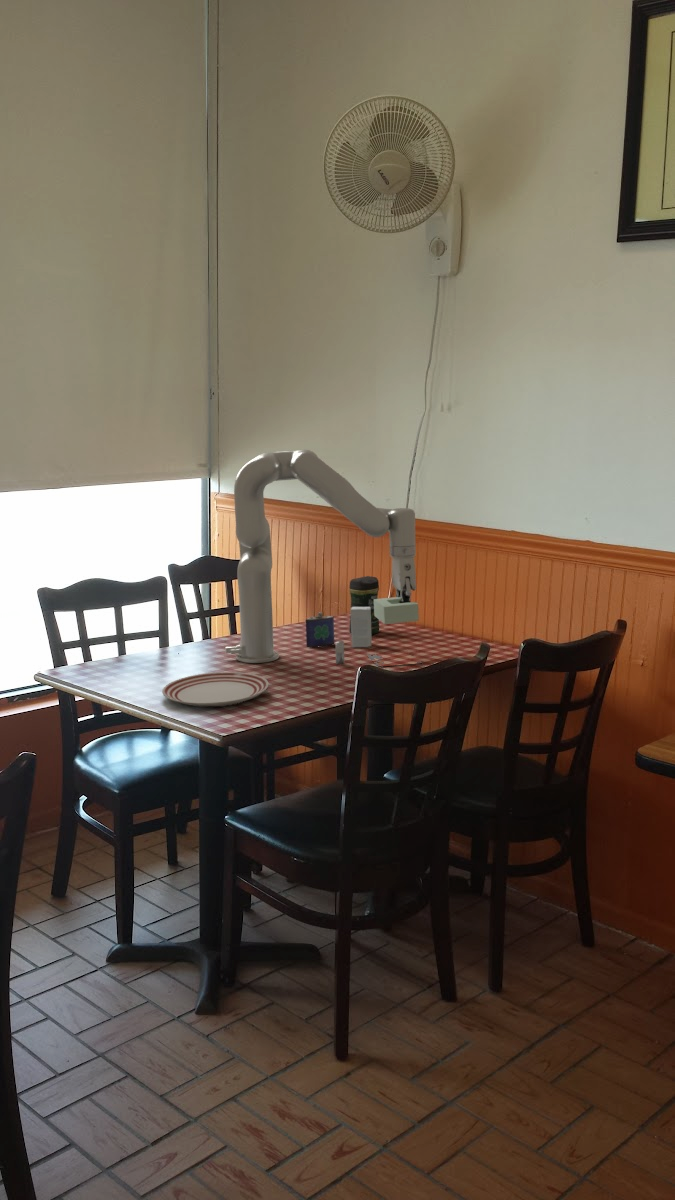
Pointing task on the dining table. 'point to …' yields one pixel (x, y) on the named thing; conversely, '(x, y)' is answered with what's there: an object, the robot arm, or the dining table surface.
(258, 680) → the dinner plate
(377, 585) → the coffee jar
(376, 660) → the mat
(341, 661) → the post
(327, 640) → the flask
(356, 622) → the skincare box
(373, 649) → the dining table surface
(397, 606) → the c link
